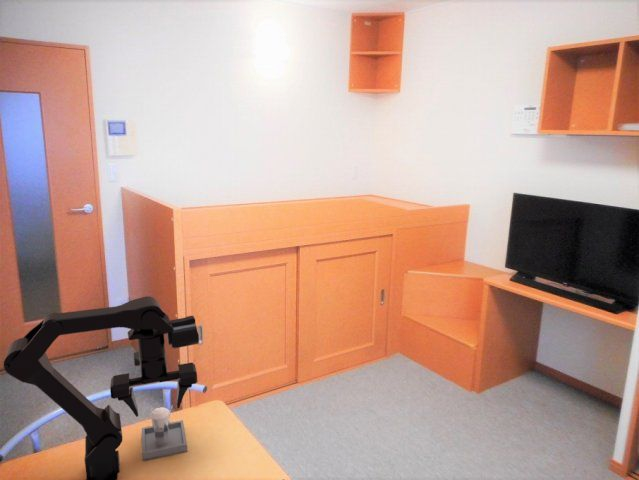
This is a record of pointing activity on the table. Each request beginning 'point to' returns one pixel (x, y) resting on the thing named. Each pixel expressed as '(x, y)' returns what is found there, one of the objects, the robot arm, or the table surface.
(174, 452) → the tray
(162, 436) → the milkshake
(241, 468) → the table surface
